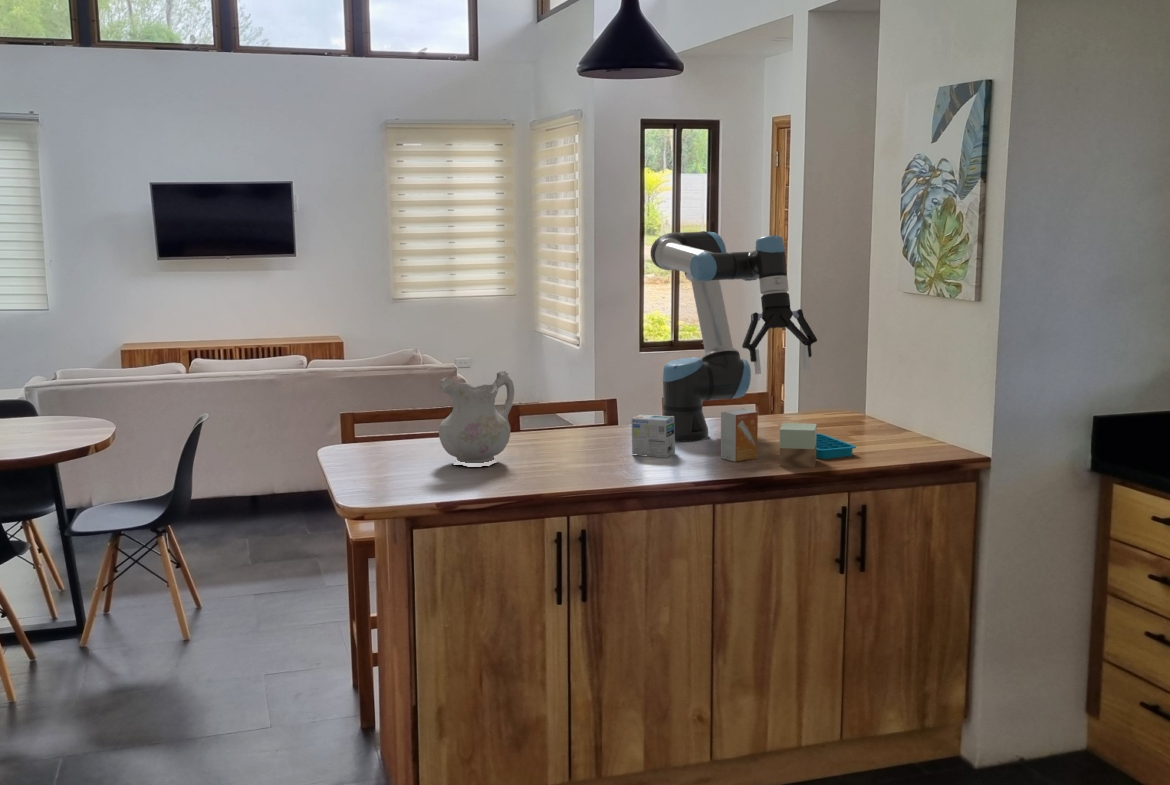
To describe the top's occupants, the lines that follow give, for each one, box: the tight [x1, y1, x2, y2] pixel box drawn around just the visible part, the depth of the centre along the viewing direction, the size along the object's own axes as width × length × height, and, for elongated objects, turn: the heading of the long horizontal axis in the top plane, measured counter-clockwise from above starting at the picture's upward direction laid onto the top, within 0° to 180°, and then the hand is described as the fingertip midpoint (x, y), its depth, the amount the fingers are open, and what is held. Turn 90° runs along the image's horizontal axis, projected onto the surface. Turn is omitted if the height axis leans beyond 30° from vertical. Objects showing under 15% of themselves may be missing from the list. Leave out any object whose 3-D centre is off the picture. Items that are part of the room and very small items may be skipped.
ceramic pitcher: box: [438, 370, 515, 463], centre depth 295 cm, size 22×20×25 cm
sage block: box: [779, 422, 818, 449], centre depth 287 cm, size 9×9×5 cm
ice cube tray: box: [816, 433, 857, 460], centre depth 302 cm, size 12×20×3 cm, turn 17°
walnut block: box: [779, 446, 817, 468], centre depth 288 cm, size 9×9×5 cm
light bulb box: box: [631, 414, 676, 458], centre depth 302 cm, size 11×7×11 cm, turn 65°
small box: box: [720, 408, 759, 462], centre depth 294 cm, size 8×6×13 cm
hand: (782, 372), depth 290 cm, fingers open, 13 cm apart
